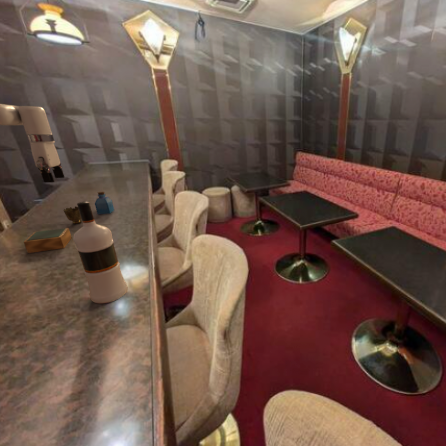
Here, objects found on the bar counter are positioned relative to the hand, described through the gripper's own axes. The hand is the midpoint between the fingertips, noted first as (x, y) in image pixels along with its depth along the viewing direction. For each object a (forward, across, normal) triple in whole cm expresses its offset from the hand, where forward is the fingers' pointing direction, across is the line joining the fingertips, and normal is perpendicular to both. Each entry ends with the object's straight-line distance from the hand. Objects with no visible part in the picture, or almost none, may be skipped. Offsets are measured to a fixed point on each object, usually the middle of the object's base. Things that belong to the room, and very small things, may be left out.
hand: (54, 179), depth 108 cm
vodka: (+26, +61, +29) cm, 72 cm away
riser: (+25, +14, -3) cm, 29 cm away
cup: (+25, -14, -2) cm, 29 cm away
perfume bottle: (+25, -30, +6) cm, 39 cm away
